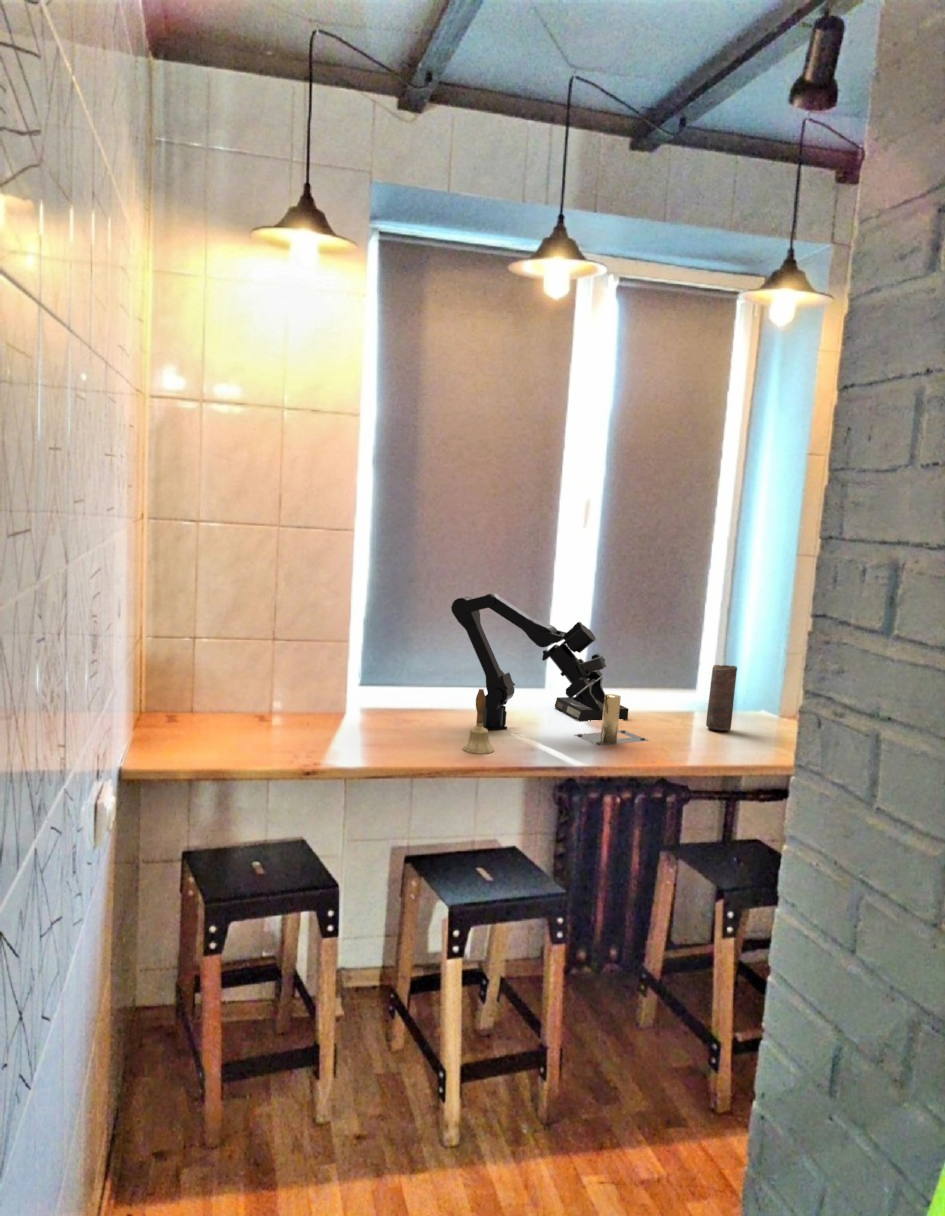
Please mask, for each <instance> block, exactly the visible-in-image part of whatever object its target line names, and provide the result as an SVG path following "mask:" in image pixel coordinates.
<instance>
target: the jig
mask: <svg viewBox="0 0 945 1216" xmlns="http://www.w3.org/2000/svg"><path fill="white" fill-rule="evenodd" d="M618 733H620V734H622V735H625V736H628V737H624V738H617V742H616V743H607V742H603V741H601V731H600V732H590V733H577V734H573V736H574V737H577V738H579V739H582V740H584V741H586V742H589V743H591V744H593V745H596V746H607V745H617V744H627V743H636V742H637V743H638V742H648V741H650V740H649V739H647V738H645V737H642V736H639V735H637V734H634V733H631V732H629V731H626V729H625V730H624V729H621V730H618Z"/></svg>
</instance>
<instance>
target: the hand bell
mask: <svg viewBox="0 0 945 1216" xmlns="http://www.w3.org/2000/svg"><path fill="white" fill-rule="evenodd" d="M485 696H486V694H485V690H484V689H483V688H479V689H478V692H477V695H476V697H475V709H476V723H475V724H476V725H475V726H474V727H472V728H471V729H470V733H469V737H468V740H467V741H466V743H465V744H464V745H463V746H462V751H464V752H466V753H470V754H476V755H487V754H491V753H493V752H494V751H495V748H494V747H493V746H492V744H491V743H490V742H491V741H490V739H489V730H487V729H485V728H484V727H483V712H484V709H485V704H486V698H485Z"/></svg>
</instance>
